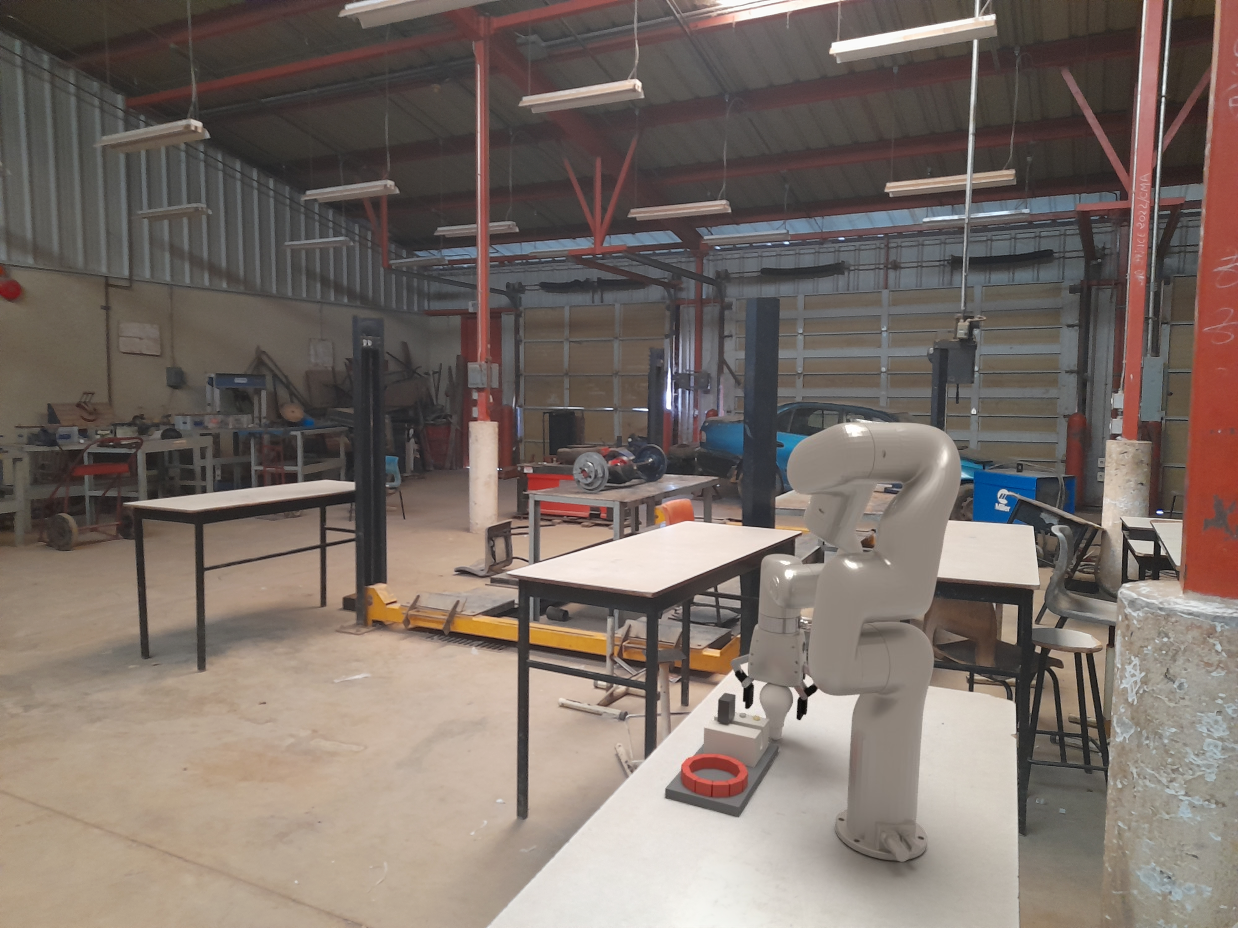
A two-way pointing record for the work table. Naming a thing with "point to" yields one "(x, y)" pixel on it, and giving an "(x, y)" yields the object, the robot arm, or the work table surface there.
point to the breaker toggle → (726, 708)
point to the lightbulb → (776, 707)
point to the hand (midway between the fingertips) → (774, 711)
